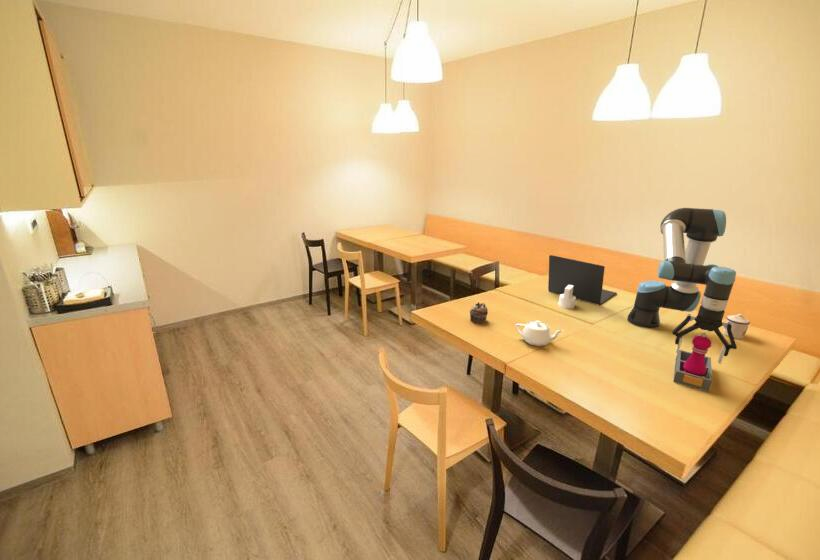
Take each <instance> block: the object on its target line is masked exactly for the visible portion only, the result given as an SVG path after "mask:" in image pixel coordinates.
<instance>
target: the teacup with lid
mask: <svg viewBox="0 0 820 560" xmlns="http://www.w3.org/2000/svg"><path fill="white" fill-rule="evenodd" d="M728 322H730V323H731V325H732V328H731V331H732V334H733V337H734V339H736V340H738V339H739V340H742V339H744V338H745V337H746V334H747V330H748V328H749V325H750V324H751V322H750V320H749V319H747V318H745V317H744V316H743V314H741V313H737V314H735V315H733V314H732V315H727V316H726V319H725V323H728ZM722 335H723V336H725V337H728V338H729V336H728V333H727V329H725V328H724V327H723V330H722Z"/></svg>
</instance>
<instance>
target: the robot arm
mask: <svg viewBox="0 0 820 560" xmlns="http://www.w3.org/2000/svg"><path fill="white" fill-rule="evenodd" d="M726 228H727V215H726V212H725V211H724V210H720V209H714V208H711V209H710V208H696V207H695V208H693V207H680V208H677V209H676V208H675V209H674V210H672V211H670V212H669V213H667V214H666V215H665V216H664V217H663V218H662V220H661V222H660V233H661V235H662V239H663V241H662V242H663V260H662V261H660V262H659V264H658V267H657V277H658V278H659V279H662V280H667V281H672V282H671V283H670V286H668V285H666V283H665V282H663V281H659V280H644V281H642V282H641V281H640V282H639V284H638V287H637V289H636V296H635V301H634V304H633V308H632V309H631V311H630V312H629V313H628V314H627V318H626V319H627V322H628V323H629V324H631V325H634V326H637V327H639V328H645V329H658V328H659V327H660V324H661V319H660V314H659V313H660V308H662V309H669V310H672V311H673V310H674V311H680V312H688V313H687V315H686V317H685V319H684V320H682V321H681V322H680V323H679V324H678V325H677V326H676V327H674V329H673V330H672V331H671V332H672V333H671V334H672V335H673V336H675V341H674V342H675V343H674V345H676V351H675V353H676V354H677V353H679V350H681V349H680V348H681V344H682V341H683V337H684V336H685V335H687V334H689V333H691V332H694V331H696V330H698V329H700V330H703V331H707V332H710V333H711V332H714V333H715V335H716V336H717V337H718V339H719V340H720V341H721V343H722V344H723V345H722V347H721V351H720V353H719V357H718V360H717V362H718V364H719V365H721V364H722V363H723V358H724V357H728V355H729V352H730V350H736V349H738V347H737V344H736V340H735V338H734V337H733V334H732V331H731V328H732V325H731V323H730V322H728V323H726V322H723V319H724V316H725V313H726V312H725V310H726V308H727V306H728V301H729V299H730V296H731V292H732V289H733V287H734V284H735V282H736V276H737V271H736V270H734V269H732V268H730V267H726V266H718V265H716V264H713V263H711V264H710V263H708V264H706V265H704V264H705V261H706V258H707V255H708V252H709V250H710V247H711V244H712V243H713V242H717V239H718V237H722V236H724V234H725V232H726ZM684 234H686V235H685V236H686V238H687V239H688V241H687V244H686V247H685V236H684ZM698 285H704V286H705V288H704V292H703V294H702V293H701V291H700V290H699V287H698ZM701 296H702V297H701ZM701 298H702V299H701ZM700 300H701V301H700ZM699 303H700V304H701V305H700V306H699V308H698V311H697V312H698V313H697V315H696V316H694V315H691V314H689V313H690V312H693V311H695V310H696V308H697V307H698V305H699ZM692 321H695V323H693V324H692V325H690V326H688V327H686V325H688V323H690V322H692ZM684 327H686V328H684ZM721 327H723V329H724V328H725V329H727V333H728V336H729V337H728V336H727V337H728V338H729V341H730V343H729V342H728V341H727V339H726V338H725V335H724V334H723V332H721V330H720V329H719V328H721ZM683 328H684V329H683ZM682 329H683V330H682Z"/></svg>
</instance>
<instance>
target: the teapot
mask: <svg viewBox="0 0 820 560" xmlns="http://www.w3.org/2000/svg"><path fill="white" fill-rule="evenodd" d="M514 326H515V330H516V331H517V332H518V333H519V334H520V335H521V337H522V339H523V340H524V341H525V343H526V344H528V345H531V346H535V347H543V346H545V345H548V344H549V343H551V341H554V340H555V339H557V337H558V335H559V333H561V332H564V330H563V329H558V330H556V331H555V333H554V334H552V332H551V329H550V327H549V325H548V324H547V323H544V322H542V321H540V320H533V321H532V320H531V321H528V322H527V323H526V324H524V323H516V324H515V325H514ZM518 326H520V327H523V329H522V331H521V330H520V329H519V327H518Z"/></svg>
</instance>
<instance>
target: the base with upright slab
mask: <svg viewBox="0 0 820 560" xmlns="http://www.w3.org/2000/svg"><path fill="white" fill-rule="evenodd" d="M573 287H574V286H573V285H568V286H567V287H566V288H565V291H564V294H559V299H558V303H557V305H558V307H560V308H563V309H567V310H568V309H569V310H570V309H571V310H572V309H574V308H575V305H576V300H577V299H576V297H575V296H573V295H572V293H573Z"/></svg>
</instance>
